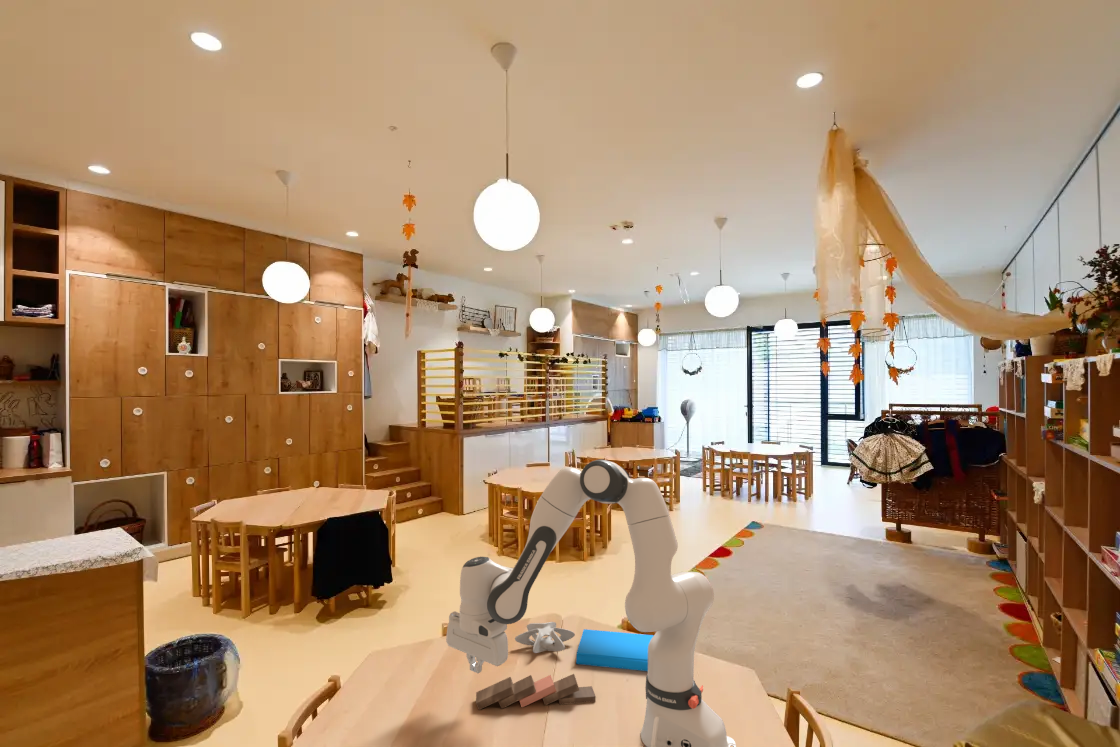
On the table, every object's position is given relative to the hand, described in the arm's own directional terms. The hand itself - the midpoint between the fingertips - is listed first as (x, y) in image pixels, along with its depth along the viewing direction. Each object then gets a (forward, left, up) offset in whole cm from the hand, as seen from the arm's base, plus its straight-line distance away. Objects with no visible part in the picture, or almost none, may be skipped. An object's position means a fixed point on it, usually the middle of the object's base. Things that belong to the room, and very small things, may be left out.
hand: (475, 671), depth 146 cm
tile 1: (0, 0, -8) cm, 8 cm away
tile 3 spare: (-9, -7, -8) cm, 14 cm away
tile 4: (-14, -12, -8) cm, 20 cm away
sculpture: (+3, -37, -9) cm, 39 cm away
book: (-20, -45, -10) cm, 51 cm away
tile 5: (-17, -15, -9) cm, 24 cm away
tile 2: (-5, -4, -8) cm, 10 cm away
